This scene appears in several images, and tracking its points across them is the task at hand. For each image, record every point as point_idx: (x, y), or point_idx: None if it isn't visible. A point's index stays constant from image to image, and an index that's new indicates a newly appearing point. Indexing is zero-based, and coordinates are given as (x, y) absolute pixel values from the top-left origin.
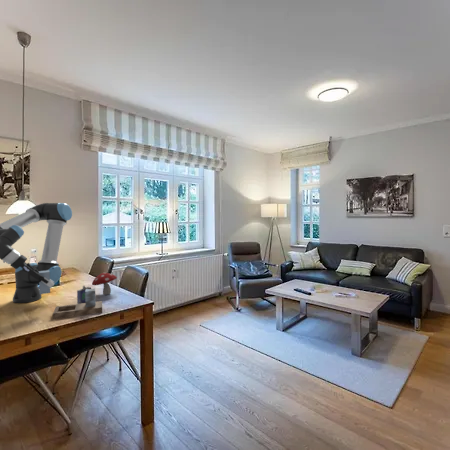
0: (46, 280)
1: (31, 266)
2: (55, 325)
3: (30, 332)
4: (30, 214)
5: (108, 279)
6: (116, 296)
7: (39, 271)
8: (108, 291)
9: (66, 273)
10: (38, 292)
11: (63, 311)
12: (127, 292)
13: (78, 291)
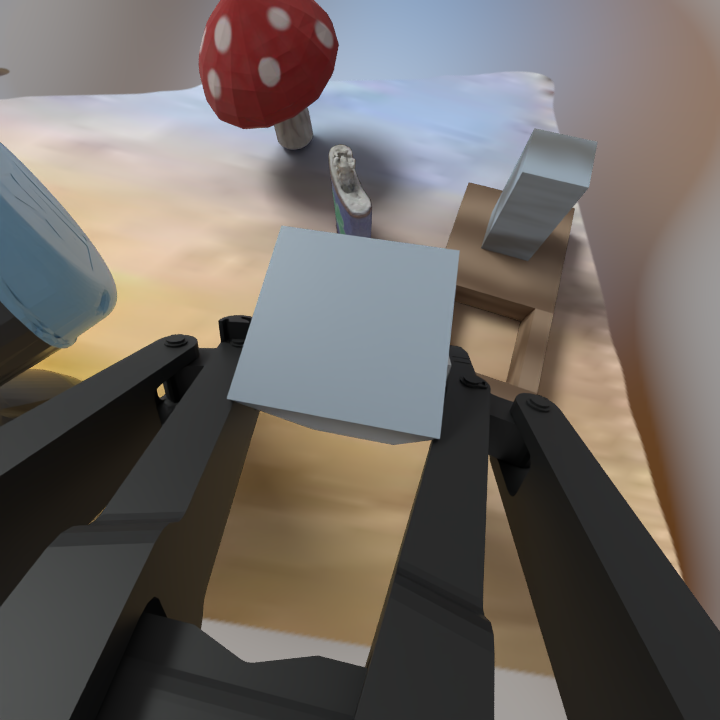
0: (470, 363)
1: (78, 714)
2: (627, 429)
3: (672, 556)
4: None
5: (329, 32)
6: (363, 126)
7: (265, 389)
8: (310, 121)
9: None
10: (42, 385)
11: (531, 359)
12: (338, 82)
13: (369, 214)
